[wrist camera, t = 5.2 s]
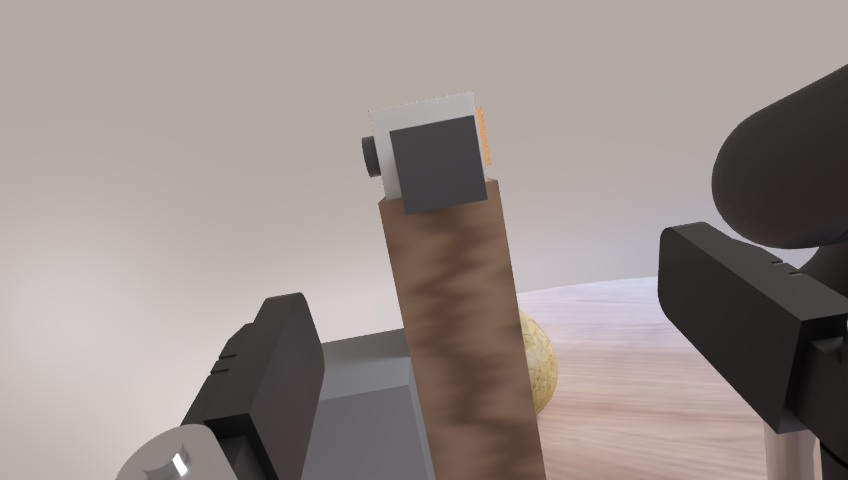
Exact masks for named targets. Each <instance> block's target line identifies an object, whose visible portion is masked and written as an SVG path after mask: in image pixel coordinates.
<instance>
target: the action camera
mask: <svg viewBox="0 0 848 480" xmlns="http://www.w3.org/2000/svg"><path fill="white" fill-rule="evenodd" d="M369 116H370V121H371V126H372V131H373V136H370V137H365V138H362V148H363V153H364V159H365V163H366V167H367V170H368V173H369V176H370V177H375V176H381V175H382V180H383V185H384V190H385V194H386V199H387V200H392V199H397V198H402V199H403V204H404V209H405V214H406V215H410V214H416V213H421V212H426V211H431V210H436V209H442V208H447V207H452V206H457V205H463V204H468V203H473V202H478V201H483V200H488V197H487V191H486V185H485V181H488V179H487V173H486V167H485V166H486V165H490V164H491V163H490V157H489V151H488V145H487V139H486V133H485V127H484V120H483V114H482V109H481V107H479V108H475V101H474V95H473V91H468V92H464V93H458V94H453V95H448V96H443V97H438V98H433V99H428V100H423V101H418V102H413V103H408V104H402V105H397V106H392V107H388V108H382V109H377V110H372V111H369Z"/></svg>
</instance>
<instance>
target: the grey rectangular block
mask: <svg viewBox="0 0 848 480" xmlns="http://www.w3.org/2000/svg"><path fill="white" fill-rule="evenodd" d="M321 346H322V349H323V354H324V362H325V372H324V378H323V383H322V387H321V392H320V396H319V401H318V405H317V410H316V414H315V418H314V423H313V427H312V432H311V436H310V441H309V445H308V450H307V454H306V458H305V463H304V467H303V472H302V476H301V480H436V478H435V473H434V468H433V464H432V459H431V454H430V449H429V444H428V440H427V435H426V430H425V425H424V421H423V416H422V411H421V406H420V401H419V397H418V392H417V387H416V382H415V377H414V373H413V368H412V363H411V358H410V353H409V349H408V344H407V339H406V334H405V329H404V328H402V329H397V330H392V331H387V332H381V333H375V334H370V335H364V336H359V337H354V338H348V339H343V340H338V341H332V342H326V343H322V344H321Z"/></svg>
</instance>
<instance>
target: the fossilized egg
mask: <svg viewBox="0 0 848 480" xmlns="http://www.w3.org/2000/svg"><path fill="white" fill-rule="evenodd" d="M519 315H520V321H521V327H522V333H523V340H524V346H525V352H526V358H527V364H528V370H529V376H530V383H531V389H532V395H533V401H534V407H535V413H536V414H538V413H539V412H540V411H541V410H543V409H544V407H545V406H546V405H547V403H548V402H549V401H550V399H551V397H552V395H553V393H554V390H555V387H556V384H557V373H558V365H557V359H556V354H555V352H554V349H553V347H552V344H551V342H550V340H549V338H548V337H547V335H546V334H545V332H544V331H543V329H542V328H541V327H540V326H539V325H538V324H537V323H536V322H535V321H534V320H533V319H532V318H531V317H530V316H528V315H527V314H526V313H524V312H522V311H521V310H519Z"/></svg>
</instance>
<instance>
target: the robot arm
mask: <svg viewBox="0 0 848 480" xmlns="http://www.w3.org/2000/svg"><path fill="white" fill-rule="evenodd" d="M712 194H713V199H714V202H715V205H716V207H717V210H718V211H719V213H720V215H721V216H722V218H723V219H724V221H725V222H726V223H727V224H728V225H729V226H730V227H731V228H732V229H733V230H734V231H736V232H737V233H738V234H740V235H741V236H742V237H744V238H746V239H748V240H750V241H752V242H754V243H757V244H760V245H764V246H766V247H771V248H781V249H802V248H813V247H819V246H820V247H819V249H818V250H817V252H816V253H815V255H814V256H813V257H812V258H811V259H810V260H809V261H808V262H807V263H806V264H805V265H803V266H802V267H801V268H800V269H796V268H795V267H793V266H791V265H789V264H788V263H783V260H781V259H780V258H778V257H776V256H774V255H773V254H771V253H769V252H768V251H766V250H764V249H762V248H760V247H757V246H754V245H751V244H748V243H744V242H742V241H739V240H735V239H732V238H730V237H729V236H727V235H725V234H724V233H722V232H721V231H719V230H717V229H716V228H714V227H712V226H711V225H709V224H708V223H705V222H696V223H691V224H685V225H680V226H674V227H669V228H665V229H664V230H663V232H662V234H661V237H660V250H659V271H658V298H659V302H660V305H661V308H662V310H663V312H664V314H665V315H666V317H667V318H668V319H669V320H670V321H671V322H672V323H673V324H674V325H675V326H676V327H677V329H678V330H679V331H680V332H681V333H682V334H683V335H684V336H685V337H686V338H687V339H688V340H689V341H690V342H691V343H692V344H693V346H694V347H695V348H696V349H697V350H698V351H699V352H700V353H701V354H702V355H703V356H704V357H705V358H706V359H707V360H708V361H709V363H710V364H711V365H712V366H713V367H714V368H715V369H716V370H717V371H718V372H719V373H720V374H721V375H722V376H723V377H724V378H725V380H726V381H727V382H728V383H729V384H730V385H731V386H732V387H733V388H734V389H735V390H736V391H737V392H738V393H739V394H740V395H741V397H742V398H743V399H744V400H745V401H746V402H747V403H748V404H749V405H750V406H751V407H752V408H753V409H754V410H755V411H756V412H757V414H758V415H759V416H760V417H761V418H762V419H763V420H764V433H765V448H766V462H767V476H768V480H848V64H847V65H845V66H844V67H841V68H840V69H838V70H836V71H834V72H833V73H831V74H829V75H827V76H825V77H823V78H821V79H819V80H817V81H815V82H814V83H812V84H810V85H808V86H806V87H804V88H802V89H800V90H798V91H797V92H794V93H793V94H791V95H789V96H787V97H785V98H783V99H781V100H779V101H777V102H775V103H773V104H771V105H769V106H767V107H765V108H763V109H762V110H760V111H758V112H756V113H754V114H752V115H751V116H750V117H748V118H747V119H745V120H744V121H743V122H742V123H740V124H739V125H738V126H737V127H736V128H735V129H734V130H733V132H732V133H731V134H730V135H729V136H728V138H727V139H726V141H725V142H724V144H723V145H722V147H721V149H720V151H719V153H718V156H717V159H716V162H715V164H714V168H713V173H712ZM324 372H325V362H324V354H323V349H322V346H321V343H320V340H319V337H318V334H317V331H316V328H315V325H314V322H313V319H312V316H311V313H310V310H309V307H308V304H307V301H306V299H305V297H304V295H303V294H302V293H300V292H299V293H293V294H287V295H281V296H275V297H270V298H266V299H265V301H264V303H263V304H262V307H261V308H260V310H259V312H258V314H257V316H256V318H255V320H254V322H253V323H249V324H245V325H244V326H243V327H242V328H241V329H240V330H239V331H238V332H237V333H235V334H234V335H233V336H232V337H231V338H230V339H229V340H228V342H227V343H226V345H225V347H224V349H223V351H222V352H221V354H220V356H219V361H216V363H215V365H214V367H213V368H212V370H211V372H210V373H211V375H210V376H208V377H207V379H206V381H205V382H204V384H203V386H202V388H201V389H200V391H199V393H198V395H197V396H196V399H195V400H194V402H193V403H192V405H191V407H190V409H189V411H188V412H187V414H186V416H185V418H184V420H183V421H182V423H181V425H180V426H179V427H176V428H173V429H170V430H168V431H166V432H164V433H162V434H160V435H158V436H156V437H155V438H153V439H152V440H150V441H148V442H147V443H146V444H145V445H143V446H142V447H141V448H140V449H138V450H137V451H136V452H135V453H134V454H133V455H132V456H131V457H130V458H129V459H128V460H127V462H126V463H125V464H124V466H123V467H122V468H121V470H120V472H119V473H118V476H117V478H116V480H301V476H302V472H303V467H304V463H305V458H306V454H307V450H308V445H309V441H310V436H311V432H312V427H313V423H314V418H315V414H316V410H317V405H318V401H319V396H320V392H321V387H322V383H323V378H324Z"/></svg>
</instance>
